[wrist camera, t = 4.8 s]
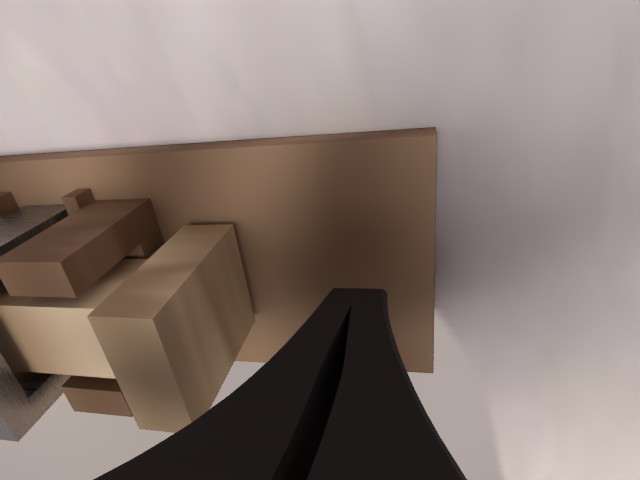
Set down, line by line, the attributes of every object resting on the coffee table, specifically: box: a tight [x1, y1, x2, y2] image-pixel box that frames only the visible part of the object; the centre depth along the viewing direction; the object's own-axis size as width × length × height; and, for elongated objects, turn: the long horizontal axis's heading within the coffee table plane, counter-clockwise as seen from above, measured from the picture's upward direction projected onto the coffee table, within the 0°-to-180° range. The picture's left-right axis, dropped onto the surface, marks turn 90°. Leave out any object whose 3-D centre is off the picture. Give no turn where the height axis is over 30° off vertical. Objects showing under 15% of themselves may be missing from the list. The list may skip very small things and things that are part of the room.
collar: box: [0, 204, 72, 442], centre depth 13 cm, size 2×5×5 cm, turn 7°
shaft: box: [0, 224, 255, 433], centre depth 12 cm, size 9×4×4 cm, turn 97°
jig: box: [0, 127, 436, 417], centre depth 13 cm, size 17×8×5 cm, turn 97°
